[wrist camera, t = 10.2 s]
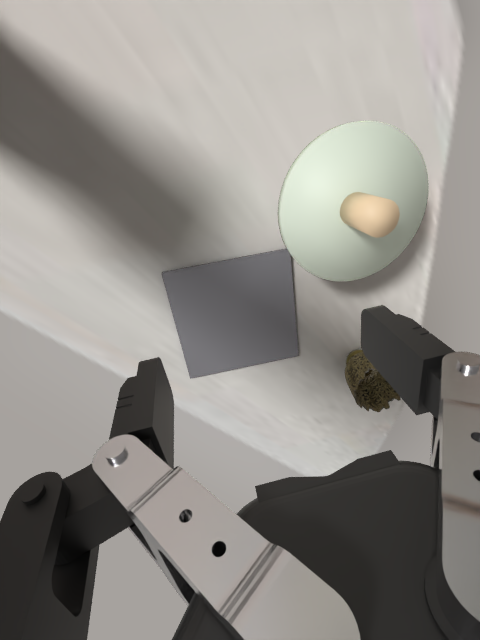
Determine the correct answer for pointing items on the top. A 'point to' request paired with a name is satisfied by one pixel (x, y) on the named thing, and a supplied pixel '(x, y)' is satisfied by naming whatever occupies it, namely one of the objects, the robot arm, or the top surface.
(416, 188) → the lid
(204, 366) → the mat
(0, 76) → the top surface
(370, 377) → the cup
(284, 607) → the robot arm
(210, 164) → the top surface
